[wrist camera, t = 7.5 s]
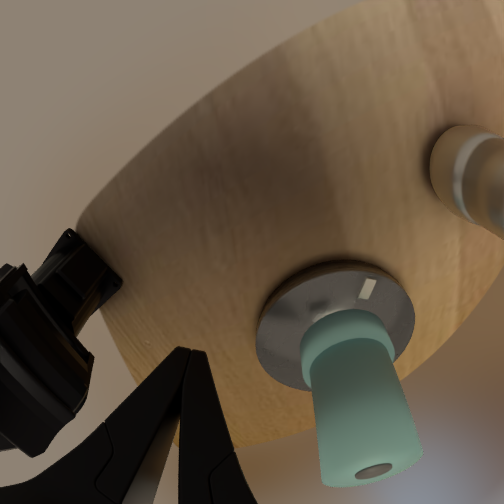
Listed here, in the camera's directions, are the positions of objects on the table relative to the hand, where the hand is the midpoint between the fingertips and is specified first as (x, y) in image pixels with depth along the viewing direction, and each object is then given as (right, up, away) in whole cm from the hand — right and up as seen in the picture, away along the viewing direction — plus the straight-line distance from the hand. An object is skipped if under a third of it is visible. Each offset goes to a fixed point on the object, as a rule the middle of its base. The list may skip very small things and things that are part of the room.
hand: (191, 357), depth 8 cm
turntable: (+9, -4, +15) cm, 18 cm away
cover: (+9, -4, +14) cm, 17 cm away
